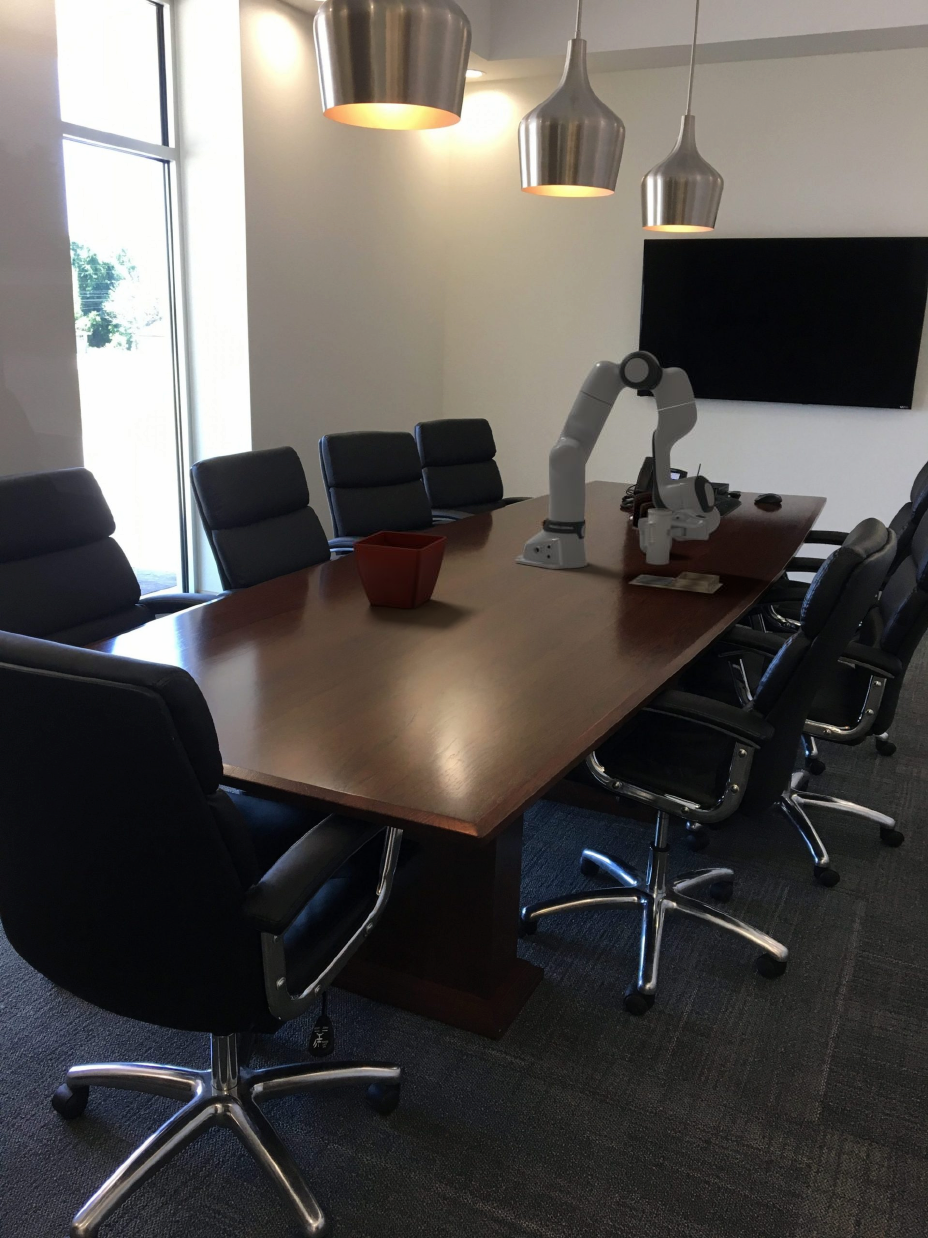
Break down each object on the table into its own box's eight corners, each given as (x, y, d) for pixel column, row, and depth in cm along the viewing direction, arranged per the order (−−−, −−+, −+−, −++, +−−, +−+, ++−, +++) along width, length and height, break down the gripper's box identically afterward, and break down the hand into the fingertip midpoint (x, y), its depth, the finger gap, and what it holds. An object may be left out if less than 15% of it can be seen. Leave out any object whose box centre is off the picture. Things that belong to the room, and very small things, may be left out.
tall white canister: (653, 558, 292) (656, 507, 288) (673, 562, 287) (677, 510, 283) (635, 563, 285) (637, 511, 281) (655, 567, 280) (658, 514, 276)
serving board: (627, 587, 286) (628, 574, 285) (641, 578, 297) (641, 566, 296) (712, 597, 276) (713, 584, 275) (722, 587, 287) (723, 575, 286)
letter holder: (631, 529, 378) (633, 492, 374) (674, 526, 386) (677, 489, 382) (646, 534, 369) (648, 495, 365) (690, 530, 377) (693, 493, 373)
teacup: (671, 558, 327) (672, 533, 324) (637, 556, 329) (639, 532, 326) (671, 549, 340) (673, 526, 338) (639, 548, 342) (640, 525, 340)
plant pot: (419, 614, 254) (420, 549, 249) (352, 606, 260) (351, 542, 256) (447, 597, 271) (447, 536, 267) (382, 590, 277) (382, 530, 273)
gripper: (653, 510, 300) (627, 515, 290) (714, 518, 286) (689, 524, 276) (652, 531, 301) (626, 537, 292) (713, 540, 288) (687, 547, 278)
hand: (657, 531), depth 284 cm, fingers closed on tall white canister, 6 cm apart
